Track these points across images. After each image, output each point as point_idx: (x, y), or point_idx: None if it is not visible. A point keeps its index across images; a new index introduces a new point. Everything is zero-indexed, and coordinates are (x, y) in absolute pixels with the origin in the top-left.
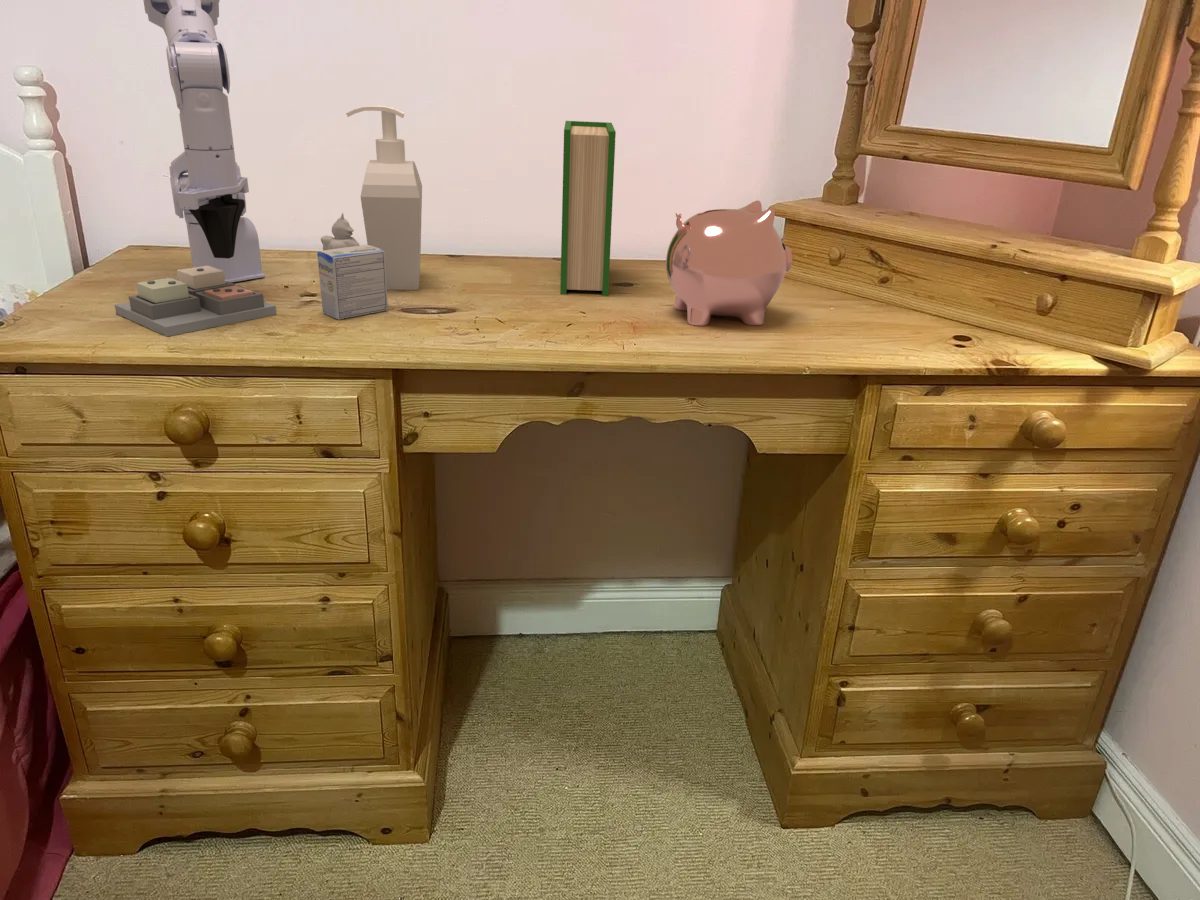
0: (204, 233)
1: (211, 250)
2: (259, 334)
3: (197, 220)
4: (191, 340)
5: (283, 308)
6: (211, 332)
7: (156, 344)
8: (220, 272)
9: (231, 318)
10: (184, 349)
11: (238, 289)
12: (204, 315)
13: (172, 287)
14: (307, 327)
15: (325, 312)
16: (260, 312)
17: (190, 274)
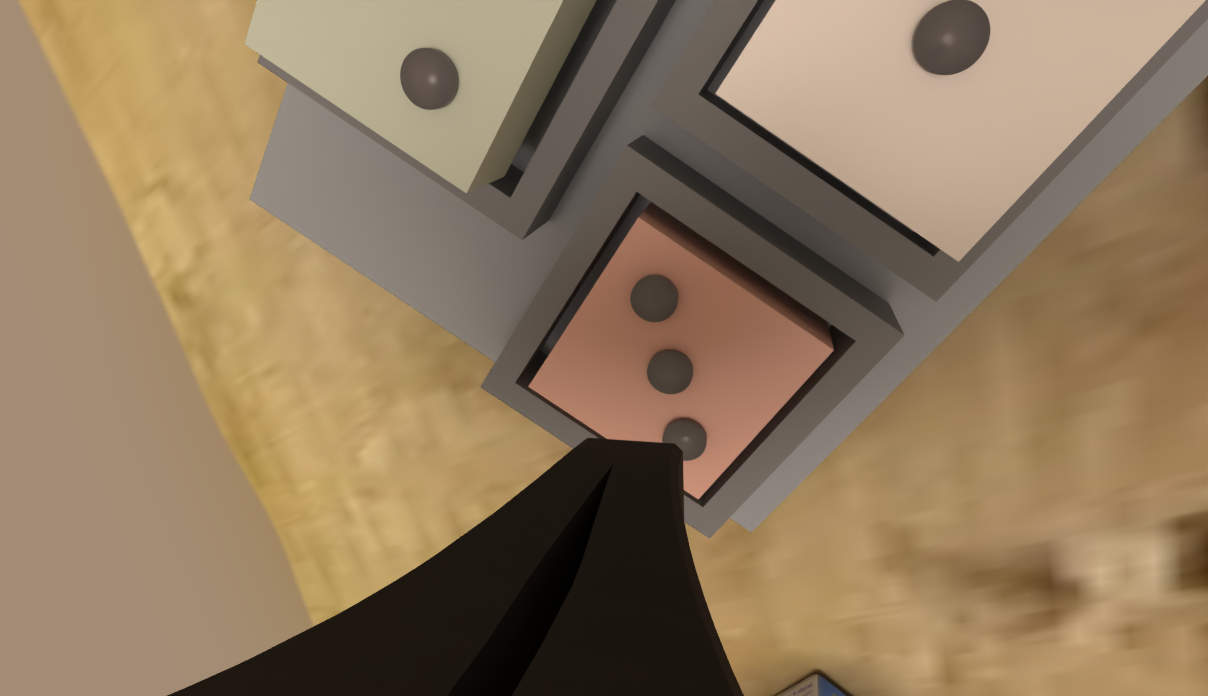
0: (424, 563)
1: (561, 459)
2: (456, 522)
3: (225, 679)
4: (290, 314)
5: (880, 501)
6: (409, 342)
7: (189, 205)
8: (930, 239)
9: None
10: (199, 341)
11: (689, 427)
12: (481, 278)
13: (374, 129)
14: None
15: (794, 690)
16: None
17: (762, 40)
